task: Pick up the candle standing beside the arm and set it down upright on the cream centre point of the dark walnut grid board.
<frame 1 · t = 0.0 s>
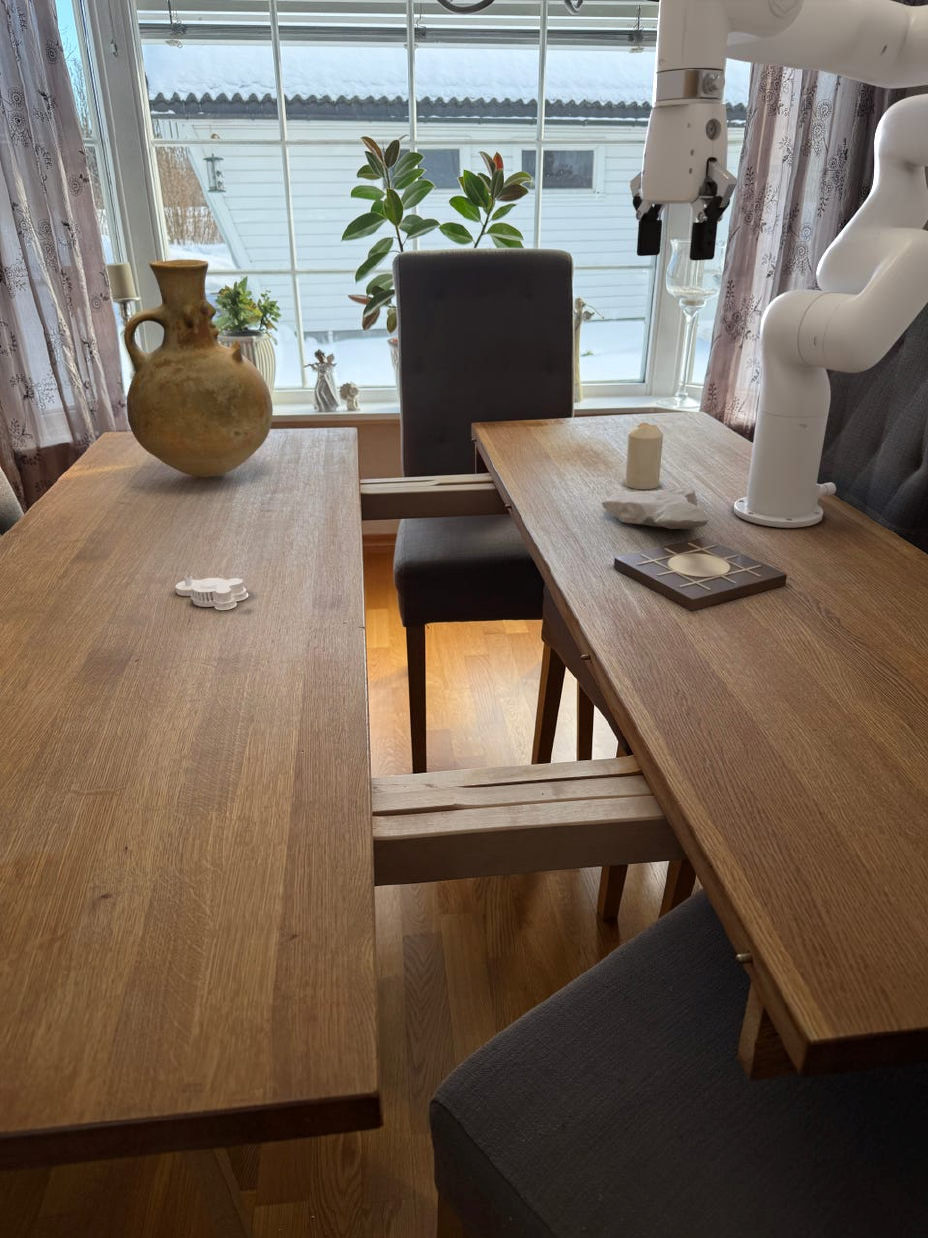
hand: (673, 257, 106), 37 cm above the table, tool pointing down, fingers open, 9 cm apart
rock: (651, 522, 130), on the table
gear: (216, 599, 108), on the table
candle: (641, 485, 146), on the table
vase: (210, 475, 155), on the table
board: (697, 576, 112), on the table
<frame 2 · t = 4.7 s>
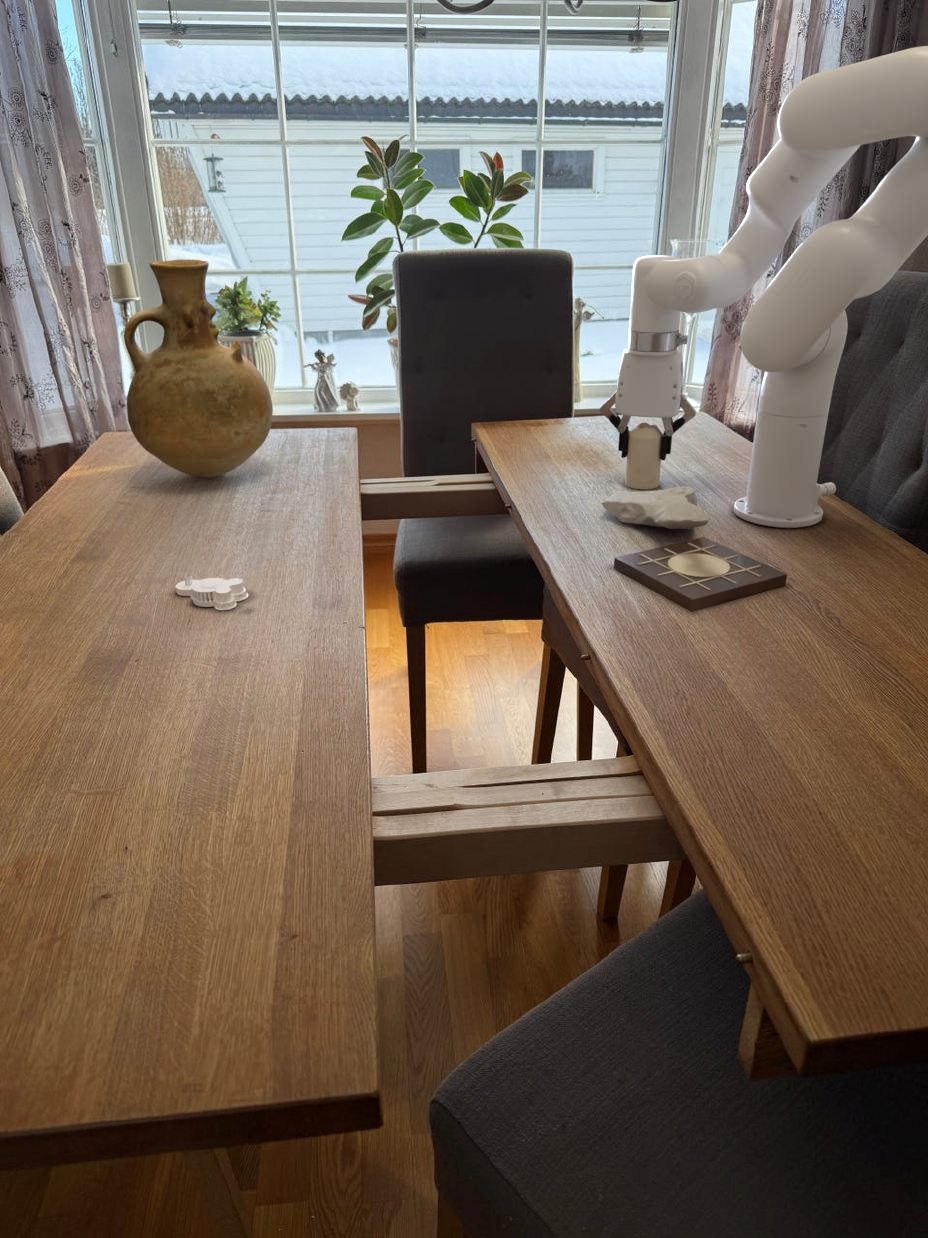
hand: (644, 455, 144), 5 cm above the table, tool pointing down, fingers closed on candle, 5 cm apart
candle: (641, 485, 146), on the table, touching gripper
everything else where it was.
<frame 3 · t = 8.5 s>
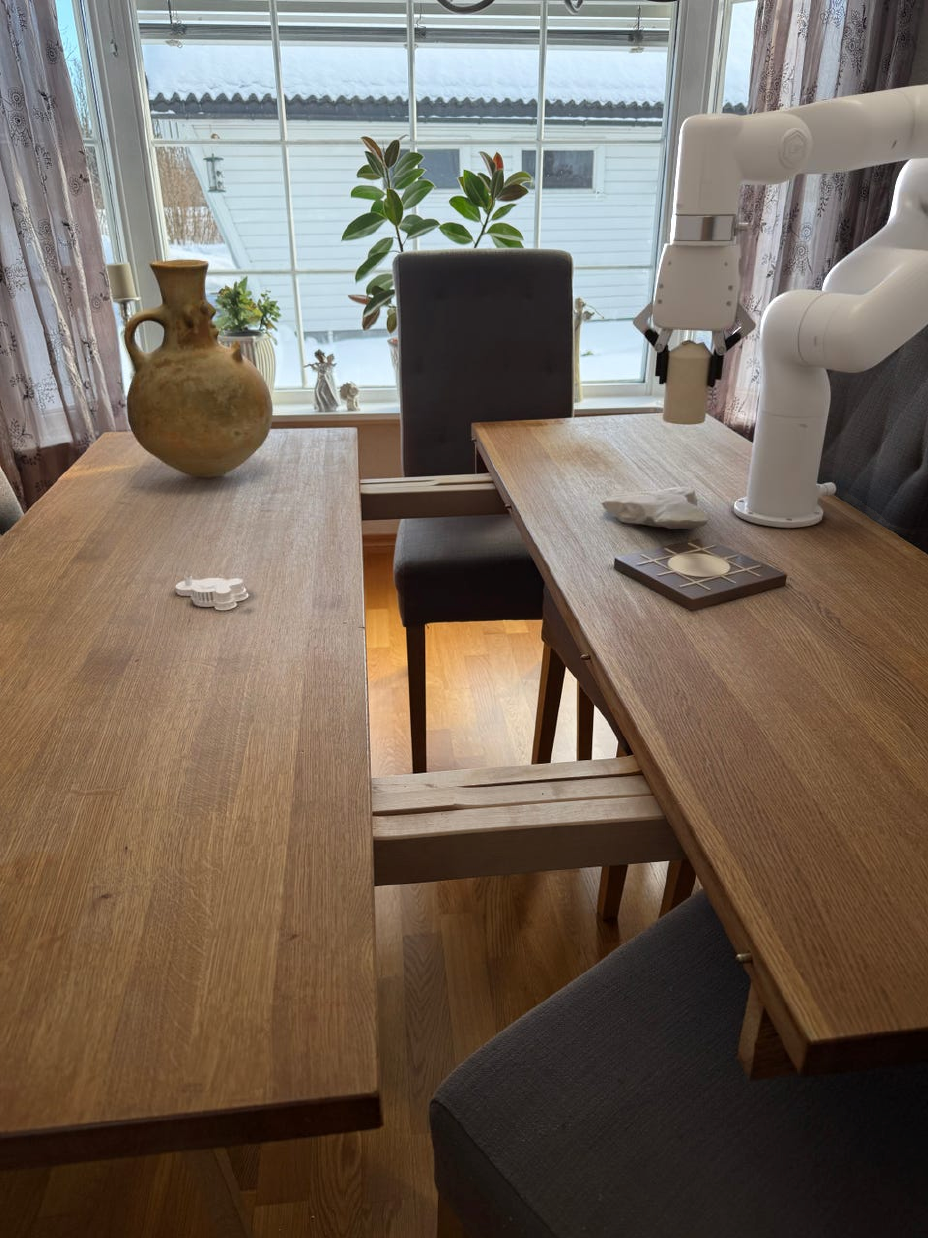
hand: (687, 382, 114), 22 cm above the table, tool pointing down, fingers closed on candle, 5 cm apart
candle: (683, 421, 117), point 16 cm above the table, touching gripper
everything else where it was.
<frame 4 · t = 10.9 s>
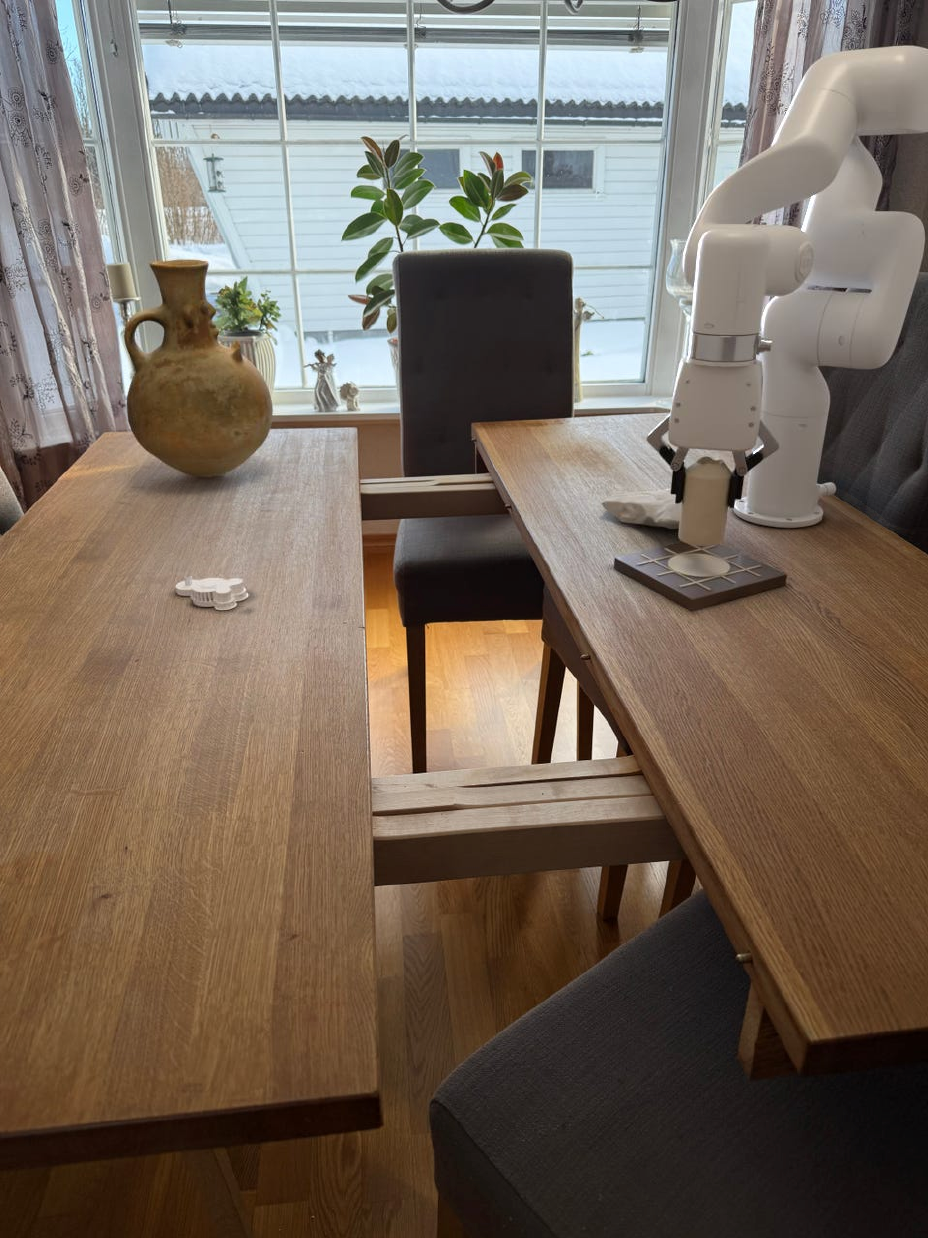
hand: (705, 501, 107), 10 cm above the table, tool pointing down, fingers closed on candle, 5 cm apart
candle: (700, 540, 109), point 5 cm above the table, touching gripper
everything else where it was.
when the fingers open (7 cm above the table, at t = 12.3 s): candle stays where it is, resting on board.
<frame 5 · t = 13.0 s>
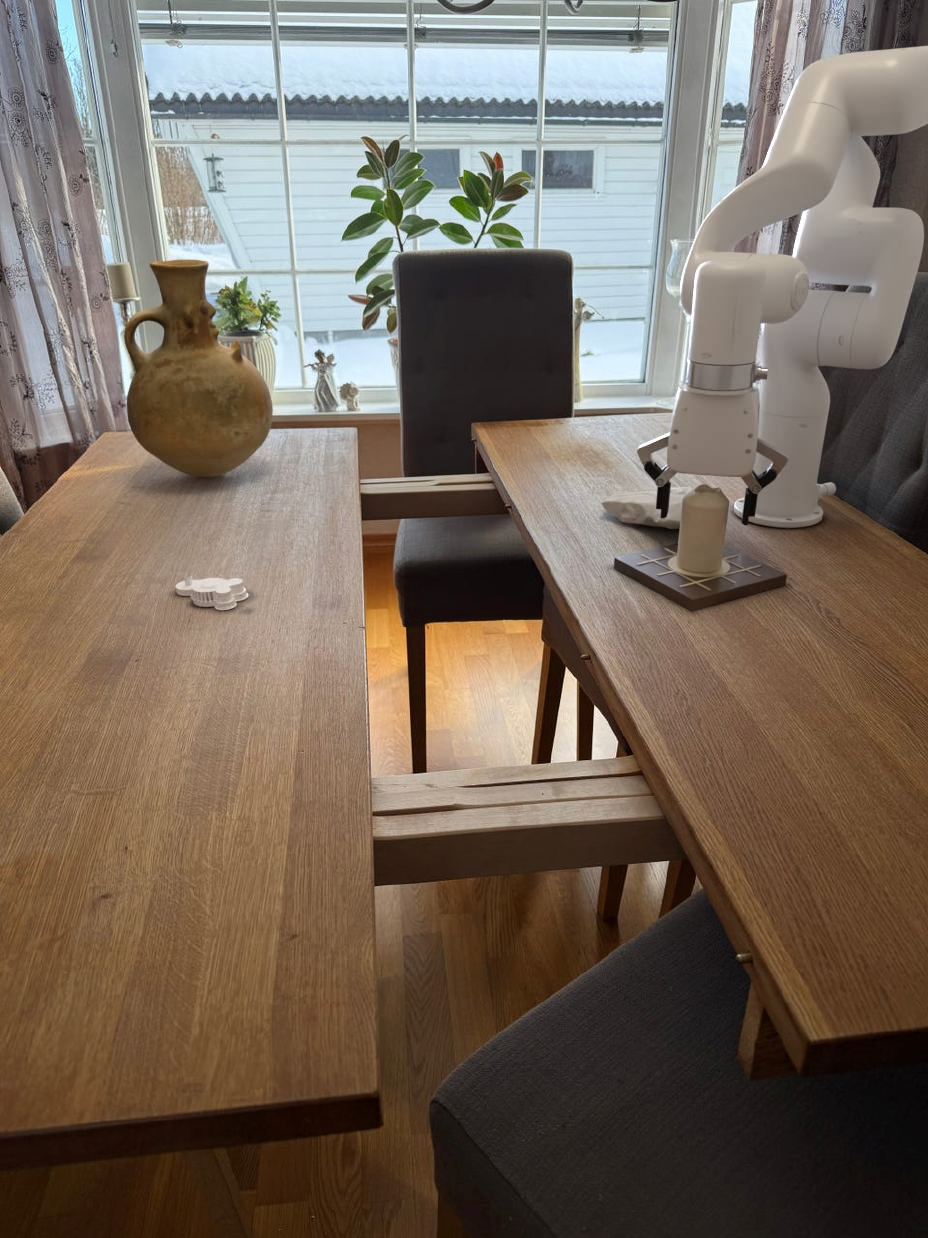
hand: (704, 518, 109), 8 cm above the table, tool pointing down, fingers open, 9 cm apart
candle: (698, 566, 111), point 1 cm above the table, touching board
everything else where it was.
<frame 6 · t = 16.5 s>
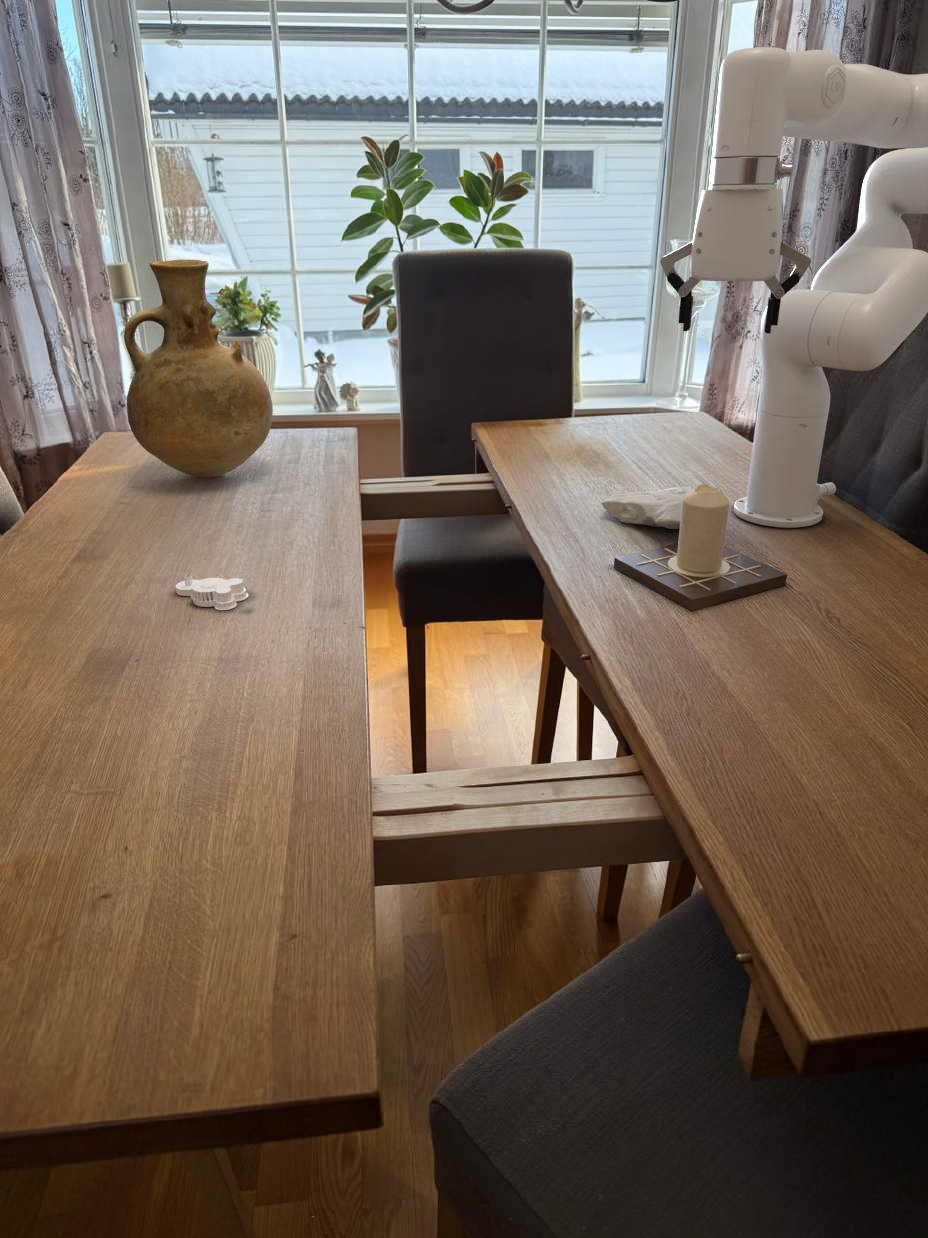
hand: (726, 330, 109), 28 cm above the table, tool pointing down, fingers open, 9 cm apart
nothing on the table moved.
at the end: candle 0.0 cm off-centre on the board, point 1.4 cm above the board's base; candle tilted 0°; the gripper is holding nothing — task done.
